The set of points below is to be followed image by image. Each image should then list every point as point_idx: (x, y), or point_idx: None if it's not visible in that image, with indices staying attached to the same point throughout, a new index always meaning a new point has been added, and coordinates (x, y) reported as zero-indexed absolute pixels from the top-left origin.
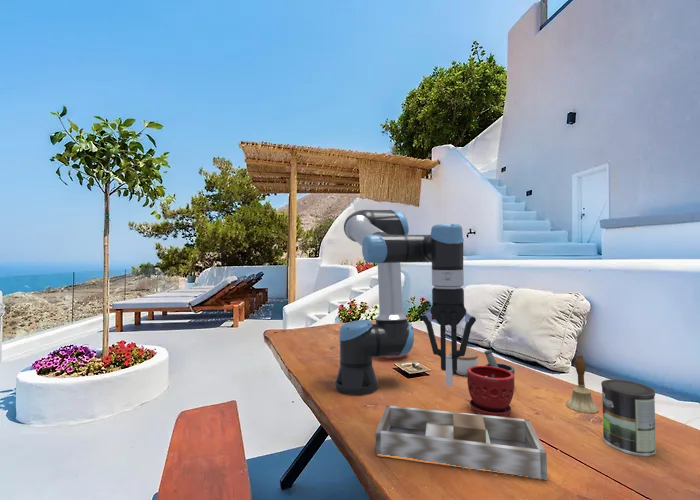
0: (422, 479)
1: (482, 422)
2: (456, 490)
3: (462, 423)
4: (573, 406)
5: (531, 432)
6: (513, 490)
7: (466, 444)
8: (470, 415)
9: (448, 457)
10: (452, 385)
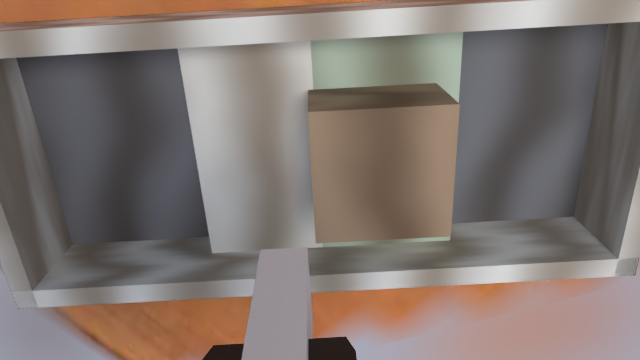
0: (233, 316)
1: (447, 175)
2: (325, 331)
3: (354, 208)
4: None
5: None
6: (473, 293)
7: (363, 288)
8: (397, 115)
9: None
10: (312, 319)
